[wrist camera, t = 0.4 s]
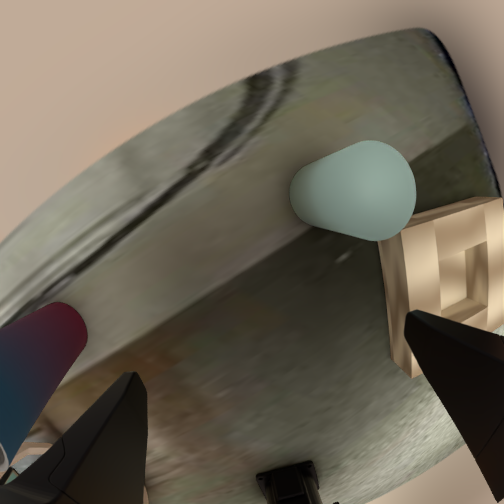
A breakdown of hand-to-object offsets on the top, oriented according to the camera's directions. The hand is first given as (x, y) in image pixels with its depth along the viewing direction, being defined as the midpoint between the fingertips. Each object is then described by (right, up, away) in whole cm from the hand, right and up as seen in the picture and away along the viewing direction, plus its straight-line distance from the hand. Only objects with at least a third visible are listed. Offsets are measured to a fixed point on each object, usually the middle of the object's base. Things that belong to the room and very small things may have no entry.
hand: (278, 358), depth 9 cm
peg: (+4, +8, +14) cm, 16 cm away
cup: (-17, -3, +14) cm, 22 cm away
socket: (+17, +1, +16) cm, 23 cm away
